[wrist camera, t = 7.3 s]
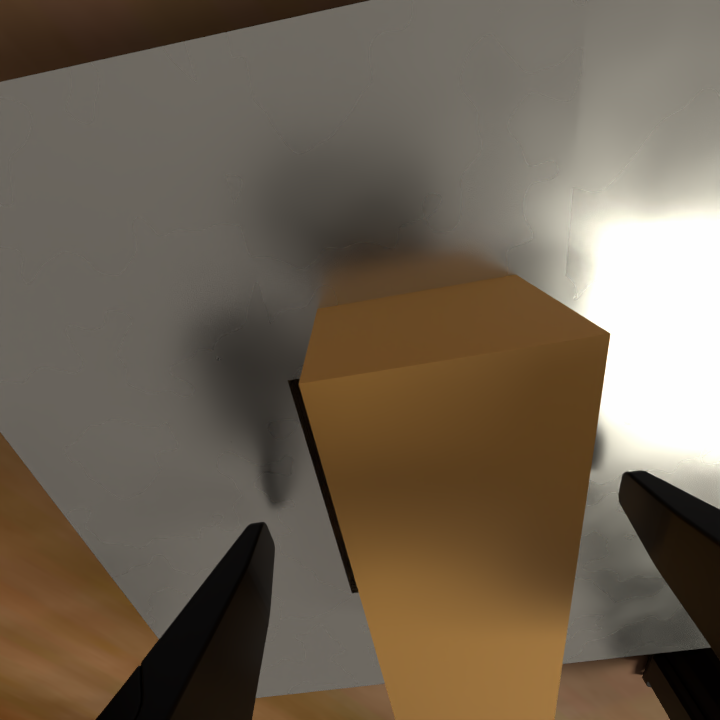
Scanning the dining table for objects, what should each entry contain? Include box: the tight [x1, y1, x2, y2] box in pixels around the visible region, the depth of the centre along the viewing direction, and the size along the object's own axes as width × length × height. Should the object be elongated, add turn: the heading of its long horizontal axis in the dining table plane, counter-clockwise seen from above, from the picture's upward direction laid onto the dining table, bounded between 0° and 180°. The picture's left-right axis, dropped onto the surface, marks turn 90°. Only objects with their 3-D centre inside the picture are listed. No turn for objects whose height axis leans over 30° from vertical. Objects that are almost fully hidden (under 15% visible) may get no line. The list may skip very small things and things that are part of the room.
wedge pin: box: [299, 275, 611, 720], centre depth 10 cm, size 4×11×7 cm, turn 10°
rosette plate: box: [0, 0, 720, 698], centre depth 12 cm, size 20×20×5 cm
